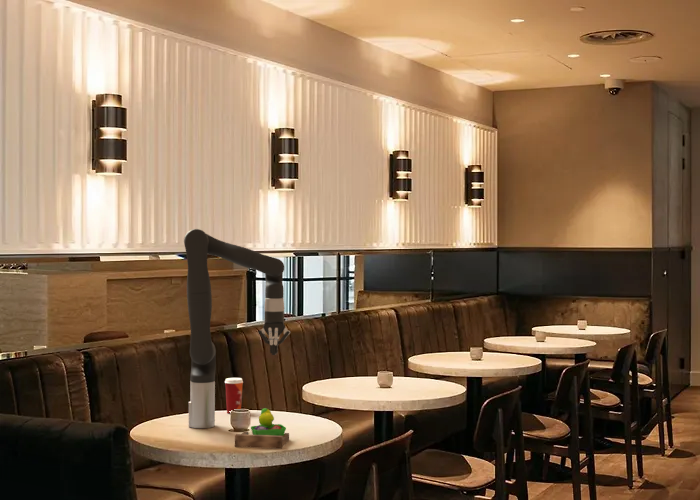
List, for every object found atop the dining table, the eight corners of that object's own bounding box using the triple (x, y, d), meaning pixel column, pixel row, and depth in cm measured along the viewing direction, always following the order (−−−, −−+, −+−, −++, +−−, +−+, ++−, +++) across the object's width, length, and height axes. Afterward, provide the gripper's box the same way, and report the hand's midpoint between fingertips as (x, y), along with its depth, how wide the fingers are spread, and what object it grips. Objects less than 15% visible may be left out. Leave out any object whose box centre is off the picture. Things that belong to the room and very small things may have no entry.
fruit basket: (255, 444, 338) (255, 412, 338) (249, 439, 346) (249, 408, 346) (286, 442, 342) (286, 410, 342) (279, 437, 350) (279, 406, 350)
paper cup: (243, 414, 392) (243, 380, 392) (224, 414, 391) (224, 380, 391) (242, 410, 400) (242, 377, 400) (224, 411, 399) (224, 377, 398)
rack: (234, 446, 334) (234, 435, 334) (244, 438, 348) (244, 427, 348) (281, 448, 332) (281, 436, 332) (289, 440, 346) (289, 428, 345)
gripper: (255, 310, 369) (255, 355, 369) (289, 311, 367) (289, 356, 368) (259, 308, 376) (259, 353, 377) (293, 309, 375) (292, 353, 375)
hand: (274, 354), depth 372 cm, fingers closed
